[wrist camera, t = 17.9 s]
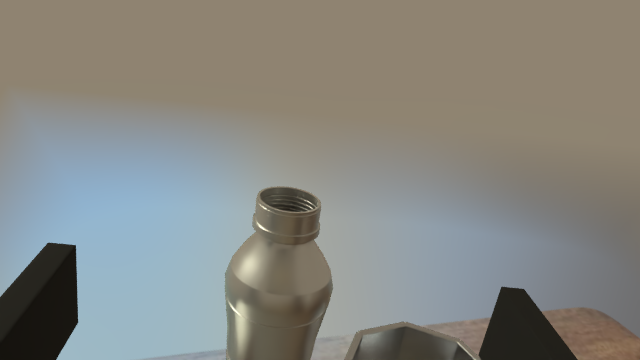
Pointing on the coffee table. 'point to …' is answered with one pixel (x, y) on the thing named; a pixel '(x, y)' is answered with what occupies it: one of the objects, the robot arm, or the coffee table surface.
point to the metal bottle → (278, 280)
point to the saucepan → (407, 344)
